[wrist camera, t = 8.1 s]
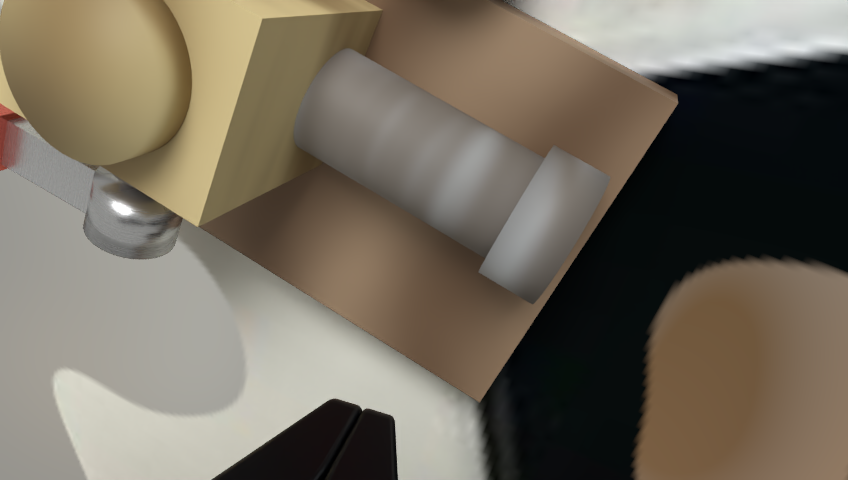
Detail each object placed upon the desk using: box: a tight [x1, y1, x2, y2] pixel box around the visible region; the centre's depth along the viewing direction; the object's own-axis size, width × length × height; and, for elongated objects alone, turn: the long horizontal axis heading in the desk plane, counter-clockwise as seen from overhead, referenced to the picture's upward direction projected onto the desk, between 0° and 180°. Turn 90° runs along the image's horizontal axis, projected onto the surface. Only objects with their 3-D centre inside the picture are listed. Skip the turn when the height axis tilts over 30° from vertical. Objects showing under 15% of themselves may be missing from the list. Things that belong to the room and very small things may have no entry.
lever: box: [0, 103, 183, 259], centre depth 18 cm, size 2×2×10 cm
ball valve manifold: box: [0, 0, 678, 402], centre depth 17 cm, size 16×11×8 cm
